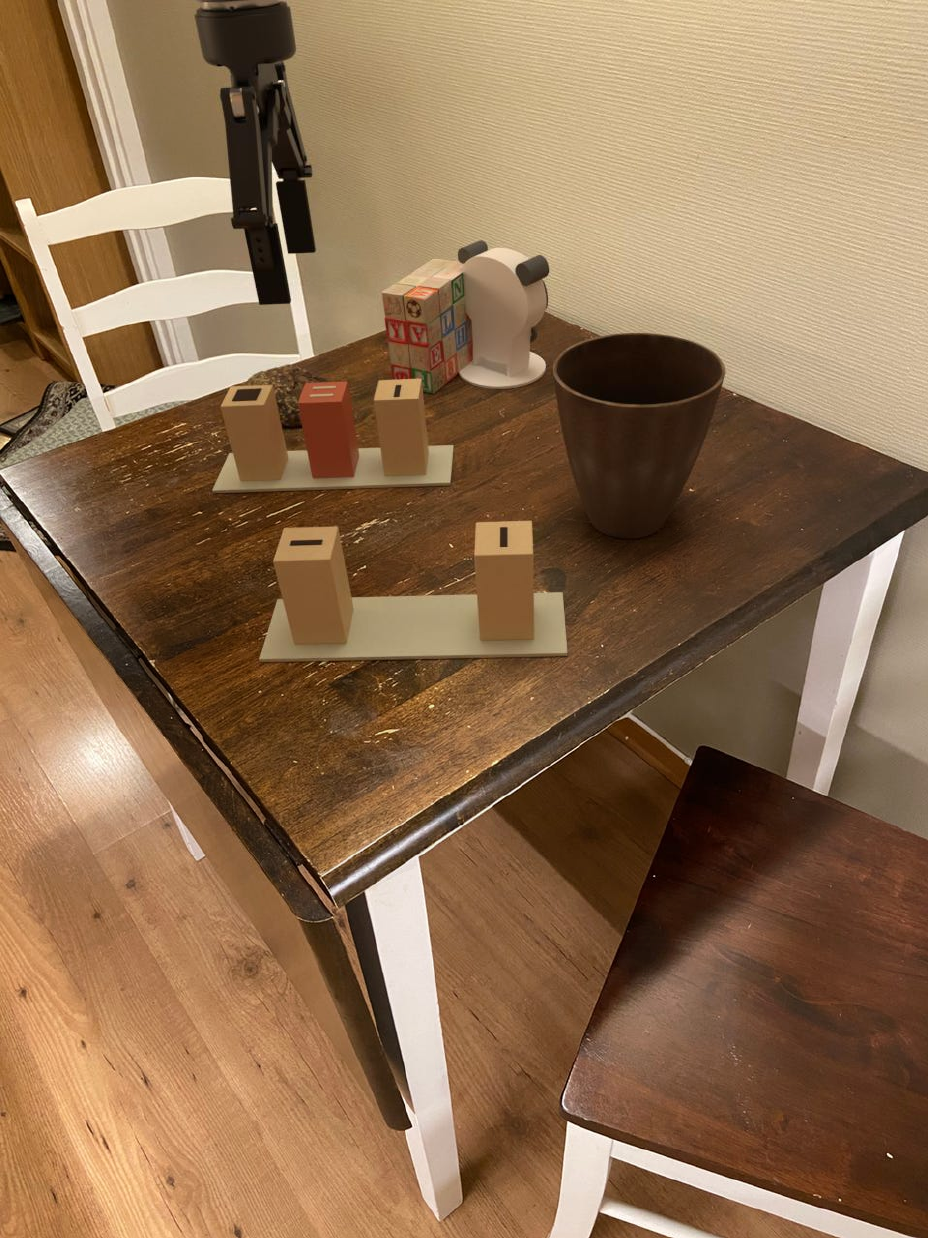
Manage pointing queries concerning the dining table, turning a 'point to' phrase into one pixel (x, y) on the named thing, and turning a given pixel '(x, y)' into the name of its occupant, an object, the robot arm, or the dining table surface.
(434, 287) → the stack of blocks
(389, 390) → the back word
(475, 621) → the front word
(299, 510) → the dining table surface
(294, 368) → the bread roll
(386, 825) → the dining table surface
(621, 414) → the flower pot
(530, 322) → the panda figurine
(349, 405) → the equals sign block
